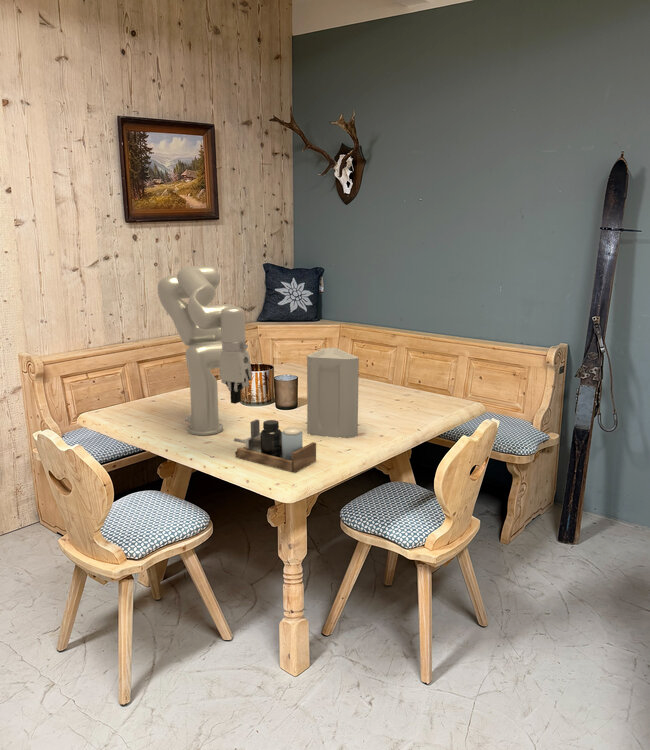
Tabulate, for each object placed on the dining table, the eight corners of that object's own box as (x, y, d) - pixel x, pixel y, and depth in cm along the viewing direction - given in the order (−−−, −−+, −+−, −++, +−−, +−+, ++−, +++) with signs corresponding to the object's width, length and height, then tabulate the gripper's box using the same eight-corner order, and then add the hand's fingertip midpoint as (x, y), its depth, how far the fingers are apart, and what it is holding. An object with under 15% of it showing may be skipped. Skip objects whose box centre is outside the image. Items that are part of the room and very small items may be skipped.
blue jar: (277, 464, 206) (277, 430, 203) (290, 458, 211) (289, 425, 208) (294, 468, 202) (294, 434, 200) (306, 462, 208) (306, 428, 205)
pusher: (226, 452, 215) (225, 419, 213) (243, 444, 222) (242, 413, 220) (248, 457, 211) (248, 424, 208) (265, 450, 217) (264, 417, 215)
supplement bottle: (282, 454, 214) (282, 418, 212) (282, 461, 208) (281, 425, 205) (261, 454, 214) (260, 418, 211) (260, 462, 208) (259, 425, 205)
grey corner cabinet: (297, 426, 242) (297, 351, 235) (334, 420, 248) (334, 347, 241) (319, 442, 225) (320, 362, 218) (358, 436, 231) (359, 357, 225)
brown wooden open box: (235, 457, 212) (235, 439, 210) (258, 446, 221) (257, 429, 219) (295, 472, 199) (294, 453, 198) (316, 460, 209) (316, 442, 207)
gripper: (259, 346, 209) (261, 403, 213) (223, 342, 217) (226, 396, 221) (244, 350, 203) (246, 408, 207) (207, 346, 211) (210, 402, 215)
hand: (235, 402), depth 214 cm, fingers closed
